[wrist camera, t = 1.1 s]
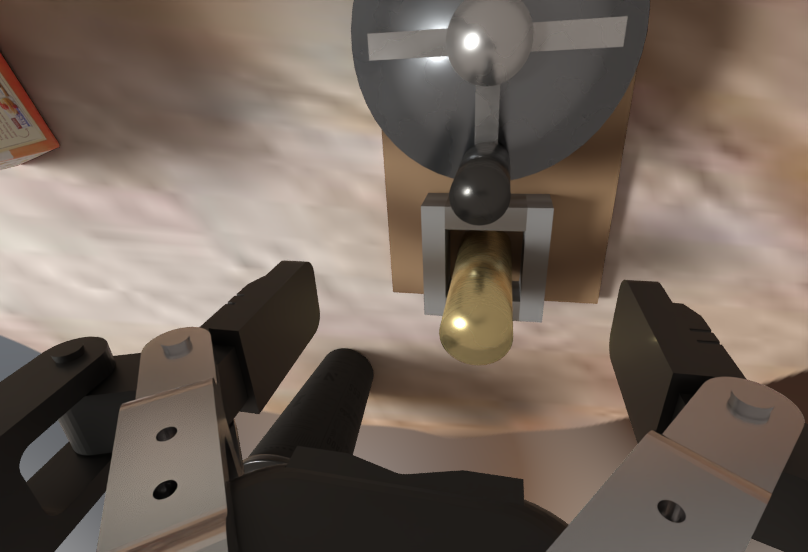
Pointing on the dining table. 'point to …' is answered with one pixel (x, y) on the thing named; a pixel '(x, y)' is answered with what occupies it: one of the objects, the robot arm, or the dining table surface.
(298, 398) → the dark tapered cylinder
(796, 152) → the dining table surface
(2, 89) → the cracker box
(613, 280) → the dining table surface
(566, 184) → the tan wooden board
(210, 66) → the dining table surface
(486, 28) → the handwheel
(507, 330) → the gold metallic cylinder
